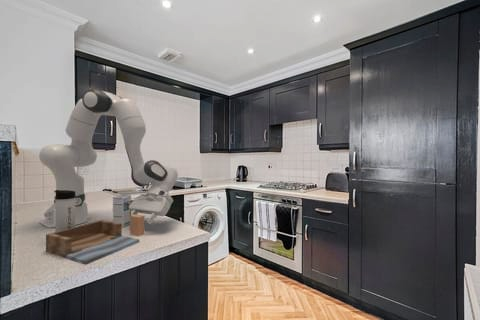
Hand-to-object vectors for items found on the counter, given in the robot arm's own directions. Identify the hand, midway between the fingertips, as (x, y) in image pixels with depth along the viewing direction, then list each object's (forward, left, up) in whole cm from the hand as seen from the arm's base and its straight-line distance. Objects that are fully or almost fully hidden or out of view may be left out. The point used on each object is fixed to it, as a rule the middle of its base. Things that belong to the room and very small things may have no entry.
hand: (139, 221), depth 95 cm
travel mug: (-20, -18, -5) cm, 28 cm away
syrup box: (-17, +5, -5) cm, 19 cm away
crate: (-3, -17, -5) cm, 18 cm away
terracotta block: (0, -1, -5) cm, 5 cm away
